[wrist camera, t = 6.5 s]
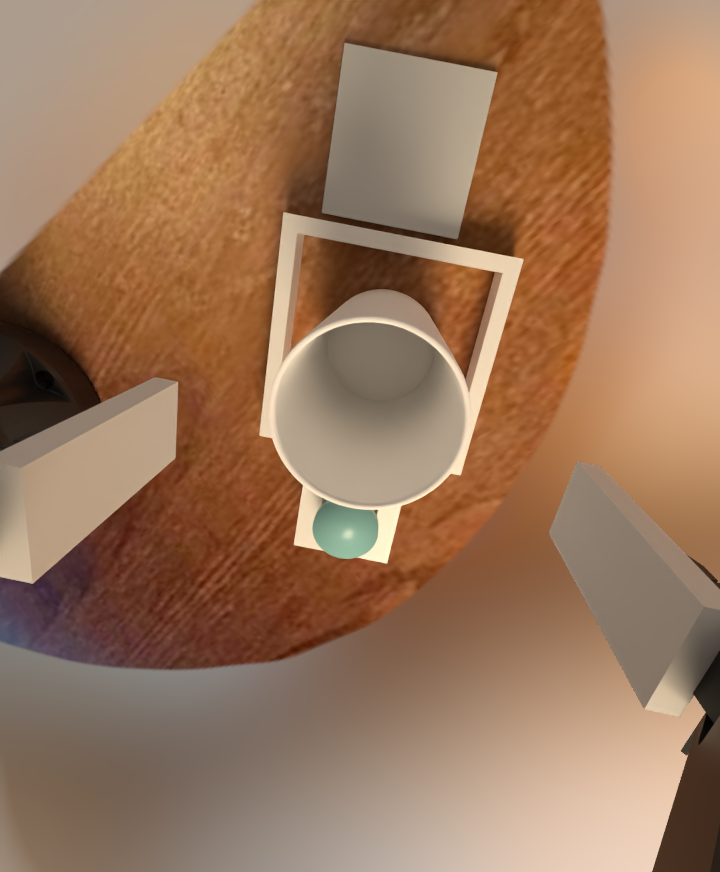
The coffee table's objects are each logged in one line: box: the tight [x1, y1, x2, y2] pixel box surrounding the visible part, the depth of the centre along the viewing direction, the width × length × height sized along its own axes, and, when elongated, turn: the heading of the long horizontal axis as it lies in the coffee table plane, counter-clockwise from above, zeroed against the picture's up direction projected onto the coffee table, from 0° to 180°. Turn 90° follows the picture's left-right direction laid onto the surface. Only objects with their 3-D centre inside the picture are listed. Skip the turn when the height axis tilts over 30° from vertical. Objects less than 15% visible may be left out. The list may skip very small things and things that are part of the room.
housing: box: [259, 212, 524, 563], centre depth 32 cm, size 15×22×5 cm
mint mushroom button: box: [312, 500, 379, 559], centre depth 33 cm, size 4×4×5 cm
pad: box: [322, 43, 498, 239], centre depth 28 cm, size 9×9×1 cm
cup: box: [268, 289, 471, 510], centre depth 26 cm, size 8×8×16 cm
